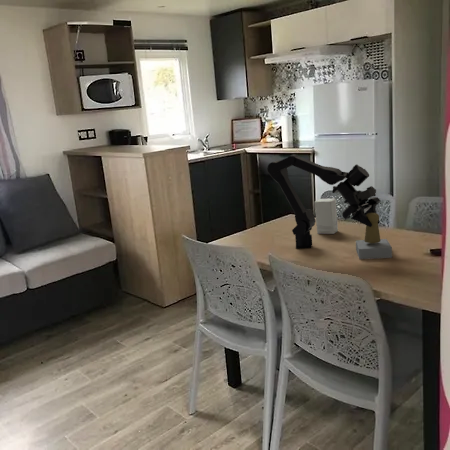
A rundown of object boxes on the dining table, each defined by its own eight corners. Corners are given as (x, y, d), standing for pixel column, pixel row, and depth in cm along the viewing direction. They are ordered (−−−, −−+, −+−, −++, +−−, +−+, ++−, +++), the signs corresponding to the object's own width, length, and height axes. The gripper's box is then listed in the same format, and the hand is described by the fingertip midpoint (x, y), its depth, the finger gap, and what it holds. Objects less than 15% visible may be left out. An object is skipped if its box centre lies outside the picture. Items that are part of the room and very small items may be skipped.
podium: (359, 259, 188) (358, 249, 187) (356, 250, 200) (355, 240, 199) (392, 257, 186) (391, 247, 185) (386, 248, 198) (386, 238, 197)
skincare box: (338, 231, 231) (336, 198, 227) (333, 234, 225) (331, 201, 222) (321, 230, 235) (319, 198, 232) (316, 233, 230) (314, 201, 226)
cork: (371, 243, 188) (370, 215, 186) (361, 240, 194) (360, 213, 191) (383, 241, 190) (383, 213, 188) (373, 237, 196) (373, 210, 193)
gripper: (347, 184, 183) (374, 217, 178) (375, 176, 195) (401, 206, 190) (331, 203, 191) (356, 235, 186) (359, 194, 203) (383, 224, 197)
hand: (375, 224), depth 189 cm, fingers closed on cork, 5 cm apart
